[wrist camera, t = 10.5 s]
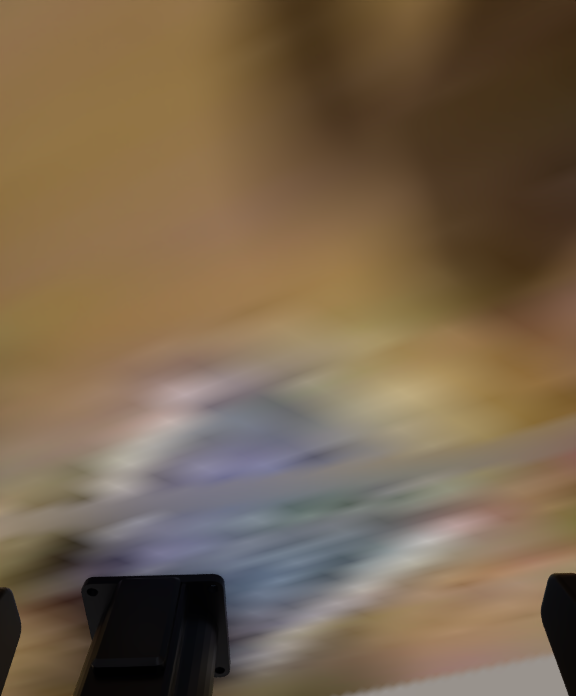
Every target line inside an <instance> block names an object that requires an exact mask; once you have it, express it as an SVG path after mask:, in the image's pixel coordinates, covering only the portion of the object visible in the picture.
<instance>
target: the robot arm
mask: <svg viewBox="0 0 576 696" xmlns="http://www.w3.org/2000/svg"><path fill="white" fill-rule="evenodd" d="M211 585H215V586H211ZM93 588H94V589H93ZM81 593H82V597H83V602H84V606H85V611H86V616H87V620H88V625H89V629H90V634H91V638H92V643H91V646H90V649H89V652H88V654H87V657H86V660H85V663H84V666H83V668H82V671H81V674H80V677H79V680H78V682H77V685H76V688H75V691H74V694H73V696H212V690H213V681H214V677H224V676H226V675H228V674H229V672H230V650H229V637H228V624H227V611H226V597H225V584H224V579H223V578H222V577H221V576H219V575H216V574H197V575H157V576H118V577H91V578H88V579H87V580H86V581H85V582H84V585H83V587H82V591H81ZM541 618H542V623H543V626H544V628H545V631H546V634H547V637H548V640H549V642H550V645H551V648H552V651H553V653H554V656H555V659H556V661H557V664H558V667H559V670H560V673H561V676H562V678H563V681H564V684H565V687H566V689H567V692H568V695H569V696H576V574H575V573H554V574H552V575H551V576H550V577H549V578H548V582H547V586H546V590H545V594H544V598H543V602H542V606H541ZM20 634H21V620H20V617H19V613H18V610H17V606H16V603H15V599H14V596H13V593H12V591H11V590H10V589H9V588H6V587H0V696H1V694H2V690H3V687H4V684H5V681H6V678H7V675H8V672H9V669H10V666H11V663H12V660H13V657H14V654H15V651H16V647H17V644H18V641H19V638H20Z"/></svg>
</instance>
